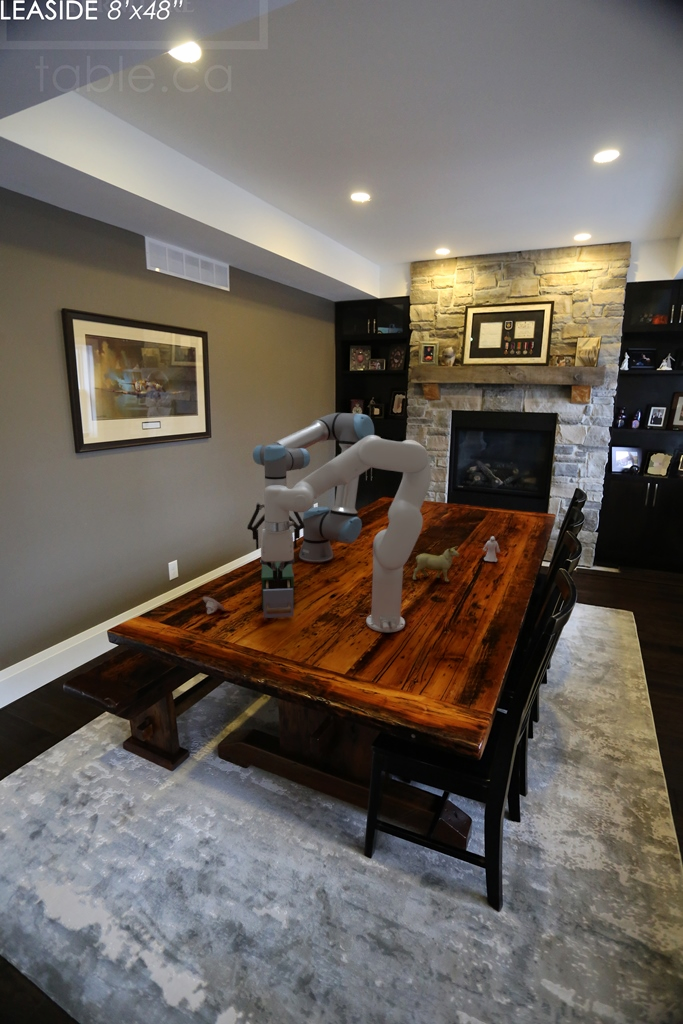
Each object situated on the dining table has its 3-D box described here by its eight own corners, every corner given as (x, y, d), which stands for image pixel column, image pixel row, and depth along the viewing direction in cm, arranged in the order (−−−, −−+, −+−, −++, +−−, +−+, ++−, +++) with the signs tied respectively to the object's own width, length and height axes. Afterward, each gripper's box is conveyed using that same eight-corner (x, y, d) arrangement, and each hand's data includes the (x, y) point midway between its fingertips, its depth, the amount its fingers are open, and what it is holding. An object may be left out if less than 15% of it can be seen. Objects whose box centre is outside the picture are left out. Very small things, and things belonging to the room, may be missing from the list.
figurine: (481, 562, 222) (483, 536, 219) (482, 556, 230) (484, 531, 227) (499, 564, 220) (501, 538, 217) (499, 558, 228) (501, 533, 225)
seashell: (209, 622, 169) (193, 604, 168) (220, 611, 173) (205, 594, 172) (217, 618, 163) (201, 599, 162) (228, 607, 167) (213, 589, 166)
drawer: (294, 625, 159) (294, 597, 156) (263, 626, 157) (262, 598, 155) (291, 597, 179) (291, 572, 177) (263, 599, 178) (263, 573, 175)
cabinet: (293, 607, 173) (293, 576, 170) (262, 609, 172) (261, 577, 169) (291, 589, 189) (291, 560, 186) (262, 590, 188) (261, 561, 185)
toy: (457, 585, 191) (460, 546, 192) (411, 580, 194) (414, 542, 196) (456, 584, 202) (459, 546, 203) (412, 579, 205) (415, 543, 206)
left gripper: (310, 487, 180) (310, 543, 185) (240, 488, 177) (241, 545, 182) (312, 491, 173) (311, 549, 178) (238, 492, 170) (240, 551, 175)
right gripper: (300, 521, 159) (300, 576, 163) (252, 522, 157) (254, 577, 161) (302, 528, 152) (302, 584, 156) (252, 529, 149) (253, 586, 154)
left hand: (276, 547), depth 180 cm, fingers open, 13 cm apart
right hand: (277, 581), depth 159 cm, fingers closed
